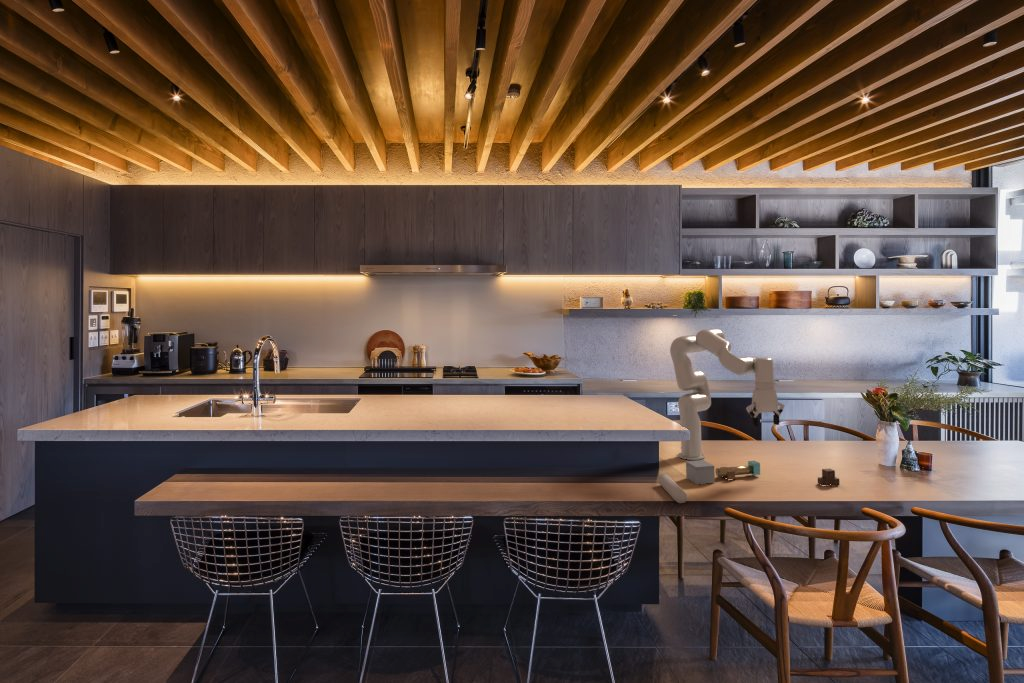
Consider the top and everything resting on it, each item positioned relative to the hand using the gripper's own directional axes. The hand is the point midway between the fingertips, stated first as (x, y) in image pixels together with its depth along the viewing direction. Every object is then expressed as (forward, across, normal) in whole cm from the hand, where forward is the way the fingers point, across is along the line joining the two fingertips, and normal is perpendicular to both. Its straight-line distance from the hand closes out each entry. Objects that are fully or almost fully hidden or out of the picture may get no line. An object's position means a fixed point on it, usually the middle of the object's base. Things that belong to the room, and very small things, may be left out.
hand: (766, 425), depth 265 cm
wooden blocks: (+23, -15, +21) cm, 35 cm away
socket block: (+21, +31, 0) cm, 38 cm away
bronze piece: (+20, +14, 0) cm, 25 cm away
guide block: (+22, +19, 0) cm, 29 cm away
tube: (+22, +50, +14) cm, 56 cm away
